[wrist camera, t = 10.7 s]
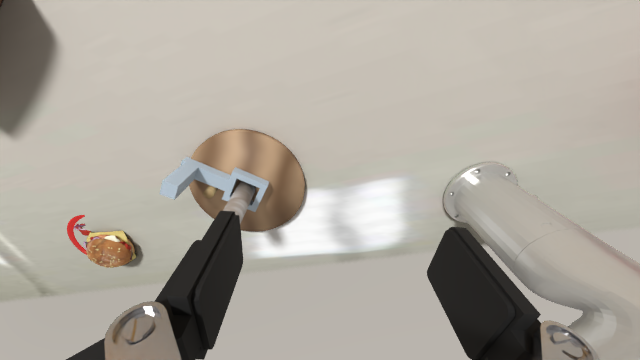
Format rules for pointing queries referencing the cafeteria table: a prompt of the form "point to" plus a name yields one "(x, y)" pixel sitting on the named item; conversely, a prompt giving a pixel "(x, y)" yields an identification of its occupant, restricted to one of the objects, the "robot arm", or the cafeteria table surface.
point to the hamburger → (103, 245)
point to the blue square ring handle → (210, 180)
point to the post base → (260, 160)
